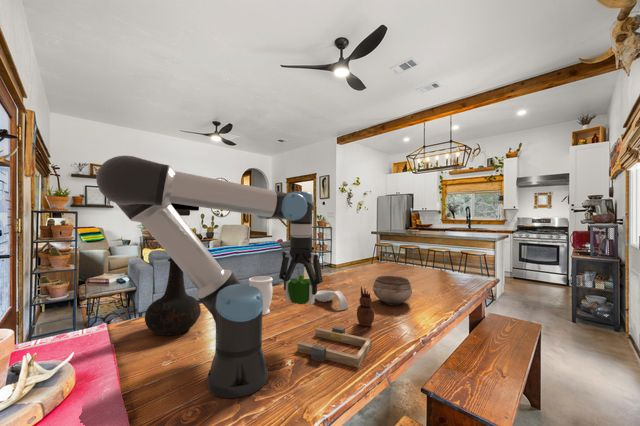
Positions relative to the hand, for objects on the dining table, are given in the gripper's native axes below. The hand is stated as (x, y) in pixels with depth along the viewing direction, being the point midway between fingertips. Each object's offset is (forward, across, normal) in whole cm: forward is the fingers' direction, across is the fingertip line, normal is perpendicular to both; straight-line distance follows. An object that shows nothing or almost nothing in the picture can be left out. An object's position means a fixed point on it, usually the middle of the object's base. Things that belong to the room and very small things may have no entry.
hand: (299, 301), depth 95 cm
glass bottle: (+14, +45, +14) cm, 49 cm away
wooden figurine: (+13, -17, -24) cm, 32 cm away
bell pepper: (+1, 0, 0) cm, 1 cm away
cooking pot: (+13, -21, -57) cm, 62 cm away
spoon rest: (+14, +6, -42) cm, 45 cm away
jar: (+14, +28, -16) cm, 35 cm away
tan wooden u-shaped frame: (+13, -13, 0) cm, 19 cm away
